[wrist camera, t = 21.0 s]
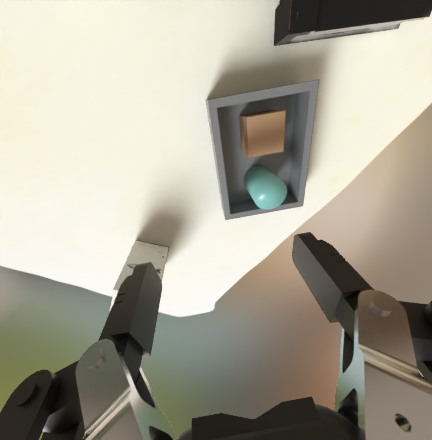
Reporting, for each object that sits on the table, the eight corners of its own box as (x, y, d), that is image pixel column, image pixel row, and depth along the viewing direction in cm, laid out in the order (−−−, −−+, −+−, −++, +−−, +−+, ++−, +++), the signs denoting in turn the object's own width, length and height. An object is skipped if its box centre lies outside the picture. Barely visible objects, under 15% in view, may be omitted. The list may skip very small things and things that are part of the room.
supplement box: (169, 246, 41) (160, 296, 30) (162, 268, 44) (151, 320, 33) (135, 238, 39) (112, 289, 28) (130, 262, 42) (108, 316, 31)
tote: (205, 100, 27) (207, 99, 22) (299, 83, 26) (319, 79, 22) (222, 206, 36) (225, 220, 32) (290, 194, 36) (303, 206, 32)
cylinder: (242, 167, 31) (253, 182, 26) (270, 162, 31) (288, 175, 25) (244, 193, 34) (254, 212, 28) (270, 188, 34) (286, 206, 28)
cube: (238, 115, 27) (246, 117, 23) (271, 109, 27) (285, 110, 23) (241, 150, 30) (248, 157, 26) (271, 144, 30) (283, 151, 26)
